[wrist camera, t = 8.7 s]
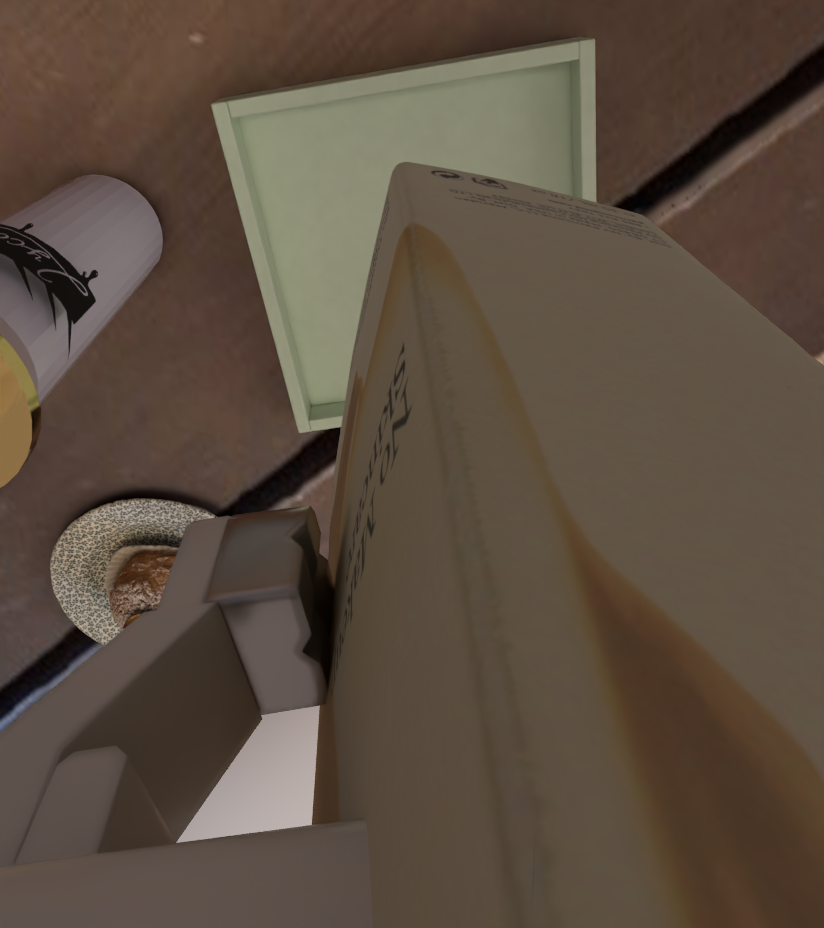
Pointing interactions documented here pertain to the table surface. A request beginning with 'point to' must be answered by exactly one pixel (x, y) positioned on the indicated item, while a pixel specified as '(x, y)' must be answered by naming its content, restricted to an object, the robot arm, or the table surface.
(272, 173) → the tray
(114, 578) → the grey speckled shallow bowl
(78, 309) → the perfume bottle
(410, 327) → the cosmetic box
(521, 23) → the table surface
